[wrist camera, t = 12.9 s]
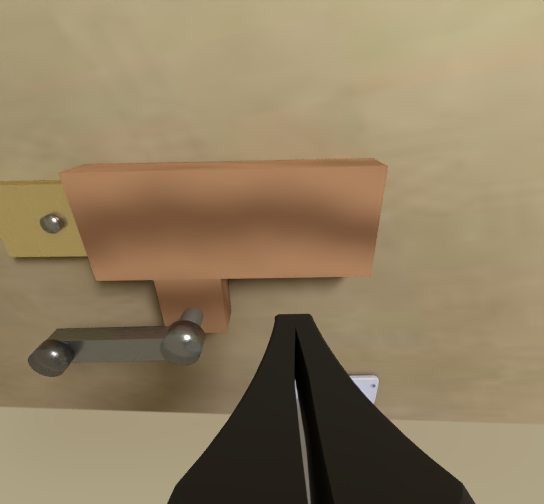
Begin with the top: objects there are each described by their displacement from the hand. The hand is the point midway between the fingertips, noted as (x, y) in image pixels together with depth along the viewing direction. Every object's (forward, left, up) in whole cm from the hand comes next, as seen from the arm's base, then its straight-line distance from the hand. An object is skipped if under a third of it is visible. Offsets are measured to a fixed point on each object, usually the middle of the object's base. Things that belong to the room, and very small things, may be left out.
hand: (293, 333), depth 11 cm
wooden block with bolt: (+2, +16, -10) cm, 19 cm away
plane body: (-1, +4, -10) cm, 11 cm away
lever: (-5, +10, -6) cm, 13 cm away
